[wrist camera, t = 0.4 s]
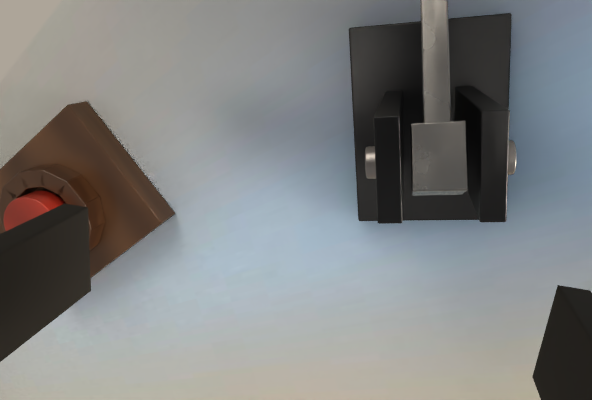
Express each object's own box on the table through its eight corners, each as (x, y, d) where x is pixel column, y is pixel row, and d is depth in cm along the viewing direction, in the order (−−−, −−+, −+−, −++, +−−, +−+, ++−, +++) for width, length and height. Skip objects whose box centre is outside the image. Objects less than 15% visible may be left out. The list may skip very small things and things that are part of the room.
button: (46, 178, 35) (28, 185, 33) (84, 225, 35) (68, 234, 34) (10, 210, 36) (-9, 218, 34) (48, 255, 37) (31, 265, 35)
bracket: (350, 28, 32) (316, 19, 20) (508, 13, 30) (576, -7, 18) (359, 215, 35) (335, 305, 23) (502, 213, 33) (556, 311, 21)
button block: (87, 101, 37) (50, 107, 33) (175, 213, 38) (149, 231, 34) (-12, 193, 40) (-55, 209, 37) (70, 292, 42) (37, 317, 38)
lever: (375, -61, 24) (372, -93, 22) (488, -76, 23) (496, -110, 21) (380, 196, 24) (376, 192, 21) (496, 194, 22) (506, 189, 20)
